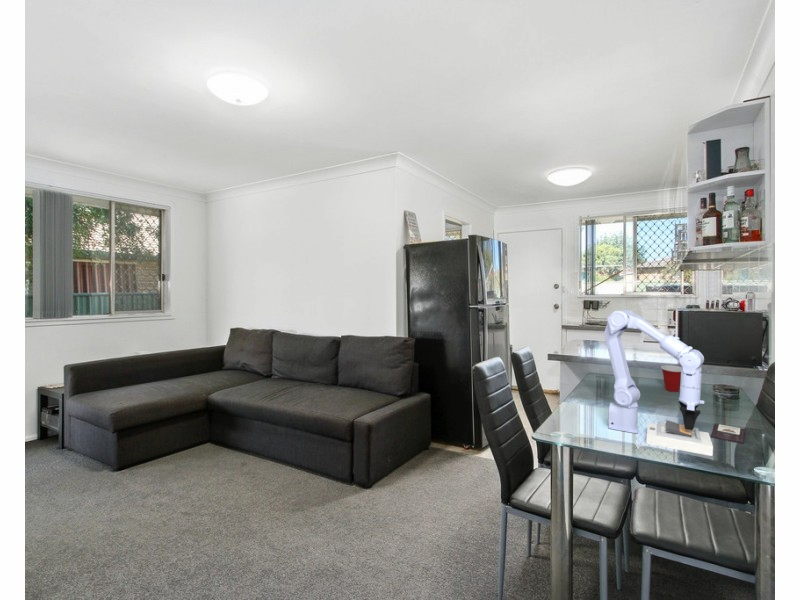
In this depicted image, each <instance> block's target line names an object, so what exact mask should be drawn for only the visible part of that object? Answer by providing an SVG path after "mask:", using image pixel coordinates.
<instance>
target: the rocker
mask: <svg viewBox="0 0 800 600" xmlns="http://www.w3.org/2000/svg"><path fill="white" fill-rule="evenodd" d="M665 423H666V431H668V432H671V433H674V434H676V435H680V436H686V437H691V436H692V435H691V430H688V429H685V426H684V424H681V423H677V422H674V421H670V420H666V421H665Z"/></svg>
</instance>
